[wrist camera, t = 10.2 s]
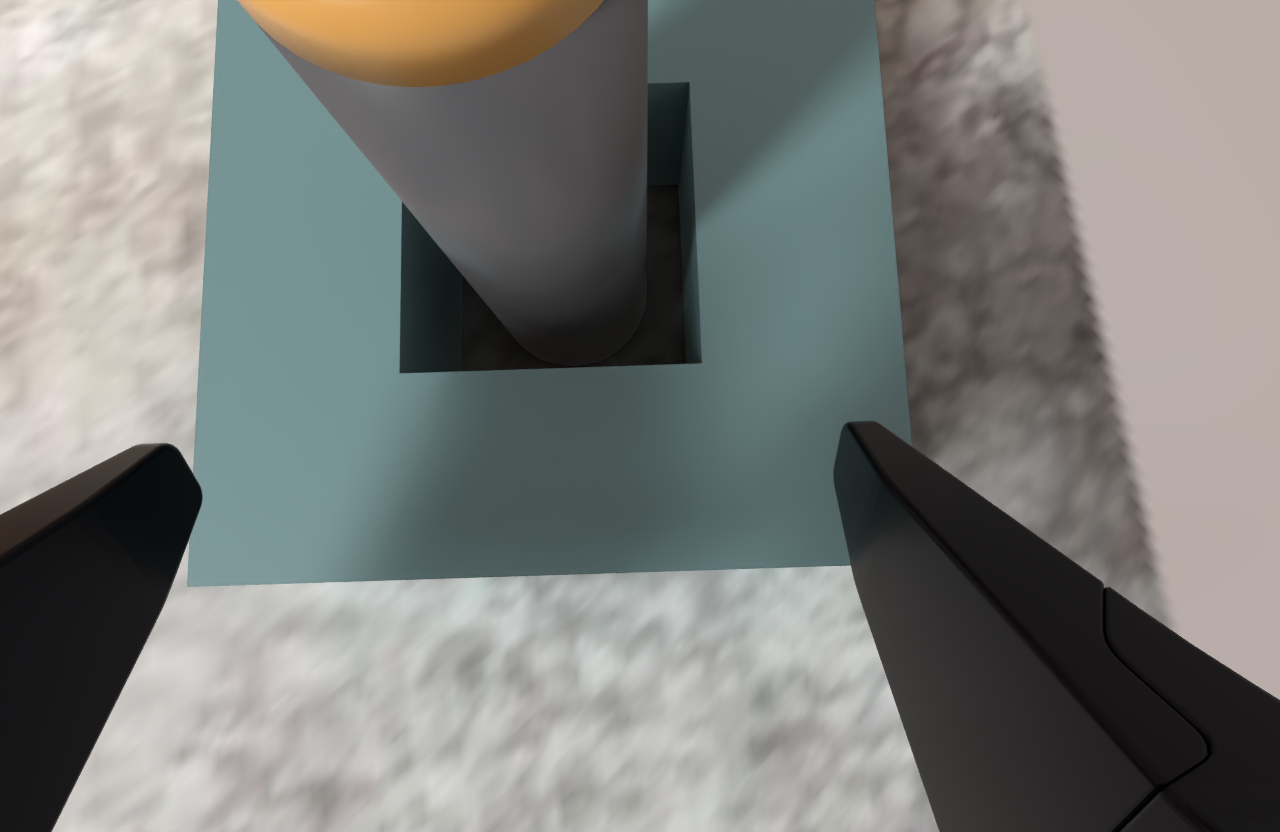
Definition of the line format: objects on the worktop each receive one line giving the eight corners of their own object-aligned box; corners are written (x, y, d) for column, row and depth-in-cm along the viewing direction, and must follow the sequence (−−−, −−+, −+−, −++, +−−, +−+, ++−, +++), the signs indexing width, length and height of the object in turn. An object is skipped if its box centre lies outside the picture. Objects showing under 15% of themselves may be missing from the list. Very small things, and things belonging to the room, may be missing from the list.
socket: (848, 546, 17) (921, 563, 12) (307, 563, 17) (186, 587, 12) (813, 46, 19) (865, -95, 14) (323, 63, 19) (222, -73, 14)
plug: (582, 396, 17) (402, 105, 5) (469, 304, 18) (5, -207, 5) (676, 283, 18) (757, -281, 5) (563, 195, 18) (363, -547, 5)
